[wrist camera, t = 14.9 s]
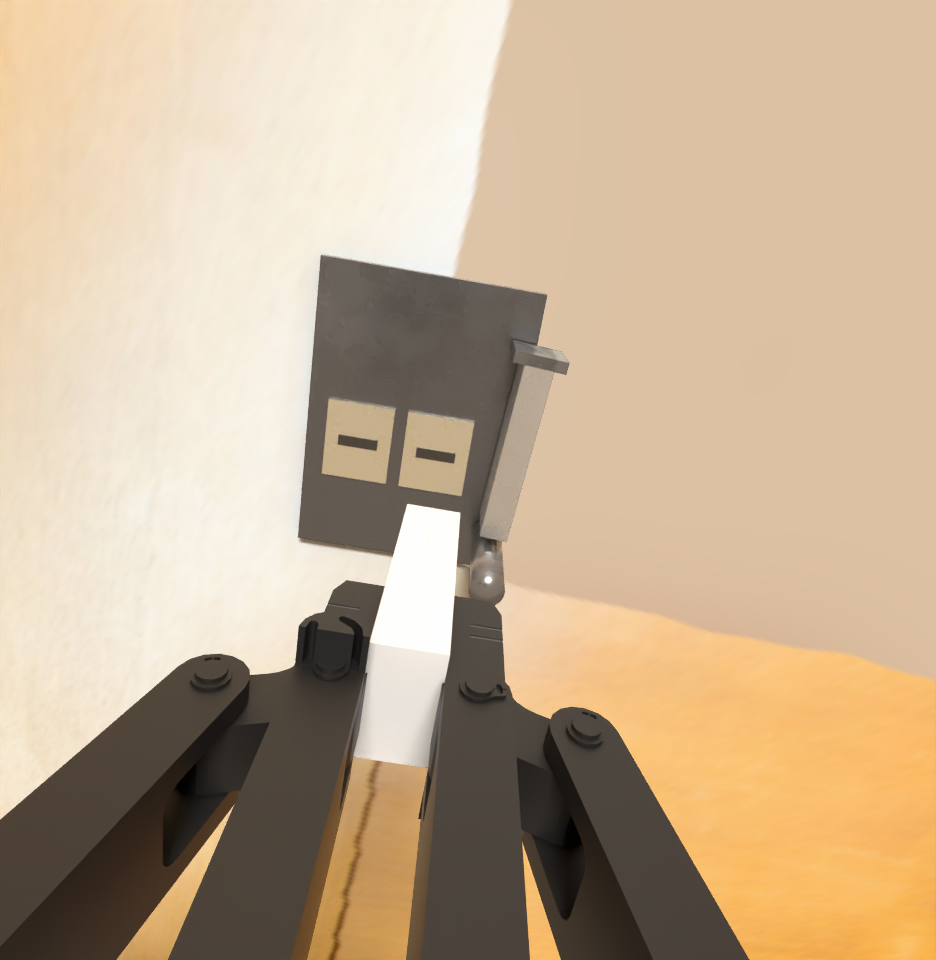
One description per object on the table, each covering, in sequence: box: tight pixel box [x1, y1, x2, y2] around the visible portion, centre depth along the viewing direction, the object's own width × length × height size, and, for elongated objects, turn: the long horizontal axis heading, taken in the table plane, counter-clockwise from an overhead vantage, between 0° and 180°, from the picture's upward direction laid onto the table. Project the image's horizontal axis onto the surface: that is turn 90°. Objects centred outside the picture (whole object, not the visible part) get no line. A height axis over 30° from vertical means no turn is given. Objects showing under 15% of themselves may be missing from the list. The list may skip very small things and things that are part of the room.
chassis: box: [298, 255, 547, 605], centre depth 45 cm, size 16×22×10 cm
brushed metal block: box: [480, 340, 569, 542], centre depth 46 cm, size 14×4×4 cm, turn 167°
